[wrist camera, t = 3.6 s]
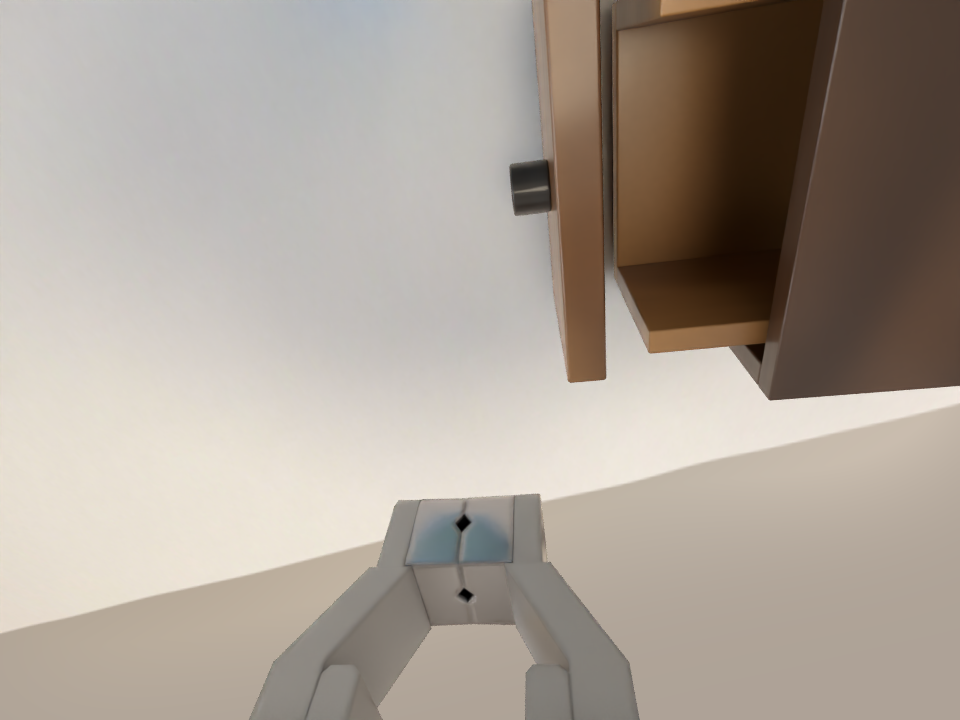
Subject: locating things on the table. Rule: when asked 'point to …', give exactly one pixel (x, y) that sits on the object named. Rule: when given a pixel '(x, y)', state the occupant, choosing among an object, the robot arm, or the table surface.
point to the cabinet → (872, 211)
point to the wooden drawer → (668, 165)
